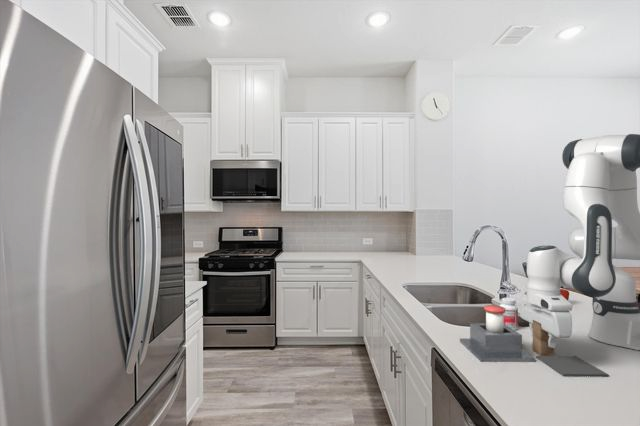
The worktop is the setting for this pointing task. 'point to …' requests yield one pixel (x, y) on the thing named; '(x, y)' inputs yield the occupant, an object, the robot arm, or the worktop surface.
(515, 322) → the pill bottle
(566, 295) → the apple
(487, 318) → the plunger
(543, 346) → the stacked wooden blocks
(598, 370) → the mat
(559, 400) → the worktop surface
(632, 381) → the worktop surface
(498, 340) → the box
